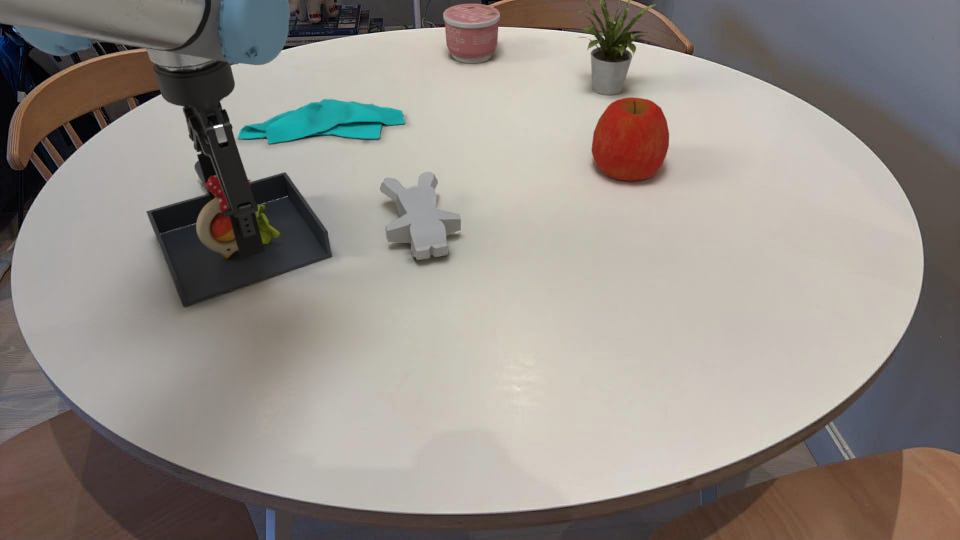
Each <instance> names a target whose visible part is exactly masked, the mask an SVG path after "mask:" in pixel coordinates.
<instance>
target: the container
mask: <svg viewBox="0 0 960 540" xmlns="http://www.w3.org/2000/svg"><path fill="white" fill-rule="evenodd" d="M442 15H443V17H442V18H443V21H444V30H445V31H444V32H445V44H446V47H447V49H448V52H449V53H450V54H451V56H452V57H451V58H453V59H454V60H456V61H457V62H460V63H465V64H479V63H483V62H486V61H488V60H490V59H491V58H492V56H493V55H492V54H494V53H495V51H496V48H497V46H498V40H499V21H500V18H501V12H500V11H499V9H497V8H496V7H494V6H491V5H488V4H483V3H461V4H457V5H452V6H450V7H448V8H446V9H445V10H444V12H443V14H442Z"/></svg>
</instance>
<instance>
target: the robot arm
mask: <svg viewBox="0 0 960 540" xmlns="http://www.w3.org/2000/svg"><path fill="white" fill-rule="evenodd" d="M290 9H291V8H290V1H289V0H0V24H3V25H10V26H13V27H14V28H15V29H16V30H17V32H18V33H19V34H20V35H21V36H22V37H23V38H24V39H25V40H26V41H27V42H28V43H29V44H31V45H32V46H33V47H35V48H36V49H38V50H39V51H41V52H43V53H46V54H47V55H52V56H55V57H65V56H70V55H72V54H74V53H77V52H79V51H82V52H83V51H87V50H88V49H90V48H92V46H93V45H94V44H97V43H108V44H109V43H110V44H115V45H123V46H129V47H134V48H135V47H136V48H141V49H146V53H147V55H148V58H149V60H150V61H151V62H152V63H153V67H152V69H153V73H154V76H155V79H156V82H157V86H158V89H159V92H160V95H161V97H162V98H163V100H165V102H167V103H168V104H171V105H174V106H178V107H182V113H183V115H184V117H185V121H186V126H187V131H188V137H189V139H190V141H191V142H193V149H194V150H195V151H196V153H198V154H196V157H197V161H199V163H200V167H201V170H202V173H203V177H204V180H205V184H206V183H207V182H208V179H209V177H211V176H215V175H217V177H218V180H219V183H220V185H221V188H222V191H223V193H224V196H225V199H226V201H227V204H228V209H227V210H225V211H223V214H224V216H225V217H227V216H229V218H230V222H231V225H232V229H233V232H234V236H235V240H236V243H237V247H238V250H239V254H240V256H241V258H242V259H243V258H246V257H249V256H252V255H255V254H259V253H262V252H265V250H264V246H263V242H262V238H261V234H260V230H259V227H258V223H257V219H256V215H255V212H258V206H257V204H256V202H255V199H254V196H253V193H252V190H251V187H250V184H249V181H250V180H249V179H248V176H247V172H246V170H245V167H244V164H243V160H242V158H241V157H242V156H241V153H240V151H239V148H238V145H237V142H236V138H235V135H234V131H233V124H232V123H231V121H230V116H229V114H228V111H227V109H226V108H223V107H222V103H221V101H223V99H224V98H227V97H229V96H230V95H231V94H232V93H233V92H234V89H235V86H236V81H235V78H234V73H233V69H232V66H231V64H232V65H239V64H242V65H250V66H262V65H263V66H264V65H267V64H269V63H271V62H273V61H274V60H275V59H276V58H277V57H278V56H279V55H280V54H281V52H282V50H283V49H284V47H285V45H286V42H287V40H288V36H289V32H290V27H289V26H290V20H291V19H290V18H291V10H290ZM248 180H249V181H248ZM207 190H208V189H207ZM207 194H209V197H210V200H213V199H214V198H215V195H213V194H212V193H211V192H210V191H209V190H208V193H207Z"/></svg>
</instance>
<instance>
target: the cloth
mask: <svg viewBox="0 0 960 540" xmlns="http://www.w3.org/2000/svg"><path fill="white" fill-rule="evenodd" d="M405 124H406V120H405V118H404V113H403V110H402V109H397V108H393V107H389V106H380V105H377V104H373V103H361V102H357V101H345V100H338V99H331V98H323V99H322V100H320V101H313V102H312V101H311V102H309V103H307V104H304V105H303V106H300V107H298V108H296V109H292V110H287V111H285V112H282V113H280V114H277V115H275V116H273V117H271V118H269V119H267V120H266V121H264V122H258V123H257V122H256V123H252V124H247V125H244V126H243V127H241V129H240V131H239V133H238V135H237V139H238V140H253V139H262V138H263V139H265V138H266V139H267V143H268V145H273V144H278V143H279V144H280V143H284V142H285V143H286V142H291V141H295V140H299V139H302V138H306V137H309V136H322V135H323V136H324V135H326V136H331V135H333V136H337V137H341V138H347V139H362V140H379V139H380V137H381V136H380V135H381V132H382V131H381V130H382V128H383V125H386V126H389V127H390V126H399V125H405Z"/></svg>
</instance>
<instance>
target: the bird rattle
mask: <svg viewBox="0 0 960 540" xmlns="http://www.w3.org/2000/svg"><path fill="white" fill-rule="evenodd" d="M248 181H249V184H250V186H251V183H250V182H251V181H250V179H248ZM206 187H207V189H208V190H209V191H210V192H211V193H212V194H213V195H215V198H214V199H213V200H211V201H210V202H209V203H207V204H206V205H205V206H204V207H203V209H202V210H201V212H200V214H199V216H198V219H197V223H195V224H196V230H197V235H198V237H199V239H200V241H201V242H202V243H203V244H204V245H205V246H206V247H207V248H209V249H210V250H212V251H214V252H217V253H220V254H221V255H222V256H223V257H224V258H226V259H227V258H229V257H230V256H231V255H232V254H233V253H234V252H236V251H238V247H237V243H236V240H235V236H234V232H233V229H232V225H231V222H230V218H229V216H227V217H225V216H224V214H223V211H225V210H227V209H228V204H227V201H226V199H225V196H224V193H223V191H222V188H221V185H220V183H219V180H218V177H217V175H215V176H211V177H209V179H208V182H207V183H206ZM259 205H260V206H258V212H255V215H256V219H257V223H258V227H259V230H260V234H261V238H262V242H263V244H269V242H270V240H271V238H272V237H273V238H278V237H279V235H280V233H279V231H277V230H276V229H275V228H273V227H272V226H270V225H269V221H268V219H267V217H266V216H265V214H263V213H261V214H260V215H259V213H260V212H262V211H264V210H265V206H264V205H261V204H259Z"/></svg>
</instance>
